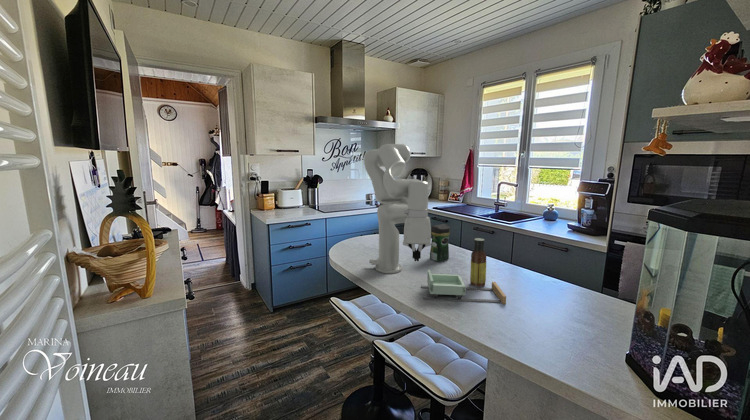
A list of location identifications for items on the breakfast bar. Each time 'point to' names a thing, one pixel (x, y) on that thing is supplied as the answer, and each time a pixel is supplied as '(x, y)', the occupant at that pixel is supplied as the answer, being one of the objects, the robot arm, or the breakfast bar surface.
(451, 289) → the cart
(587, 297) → the breakfast bar surface
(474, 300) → the track
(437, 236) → the coffee jar
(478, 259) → the sauce bottle
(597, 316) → the breakfast bar surface
